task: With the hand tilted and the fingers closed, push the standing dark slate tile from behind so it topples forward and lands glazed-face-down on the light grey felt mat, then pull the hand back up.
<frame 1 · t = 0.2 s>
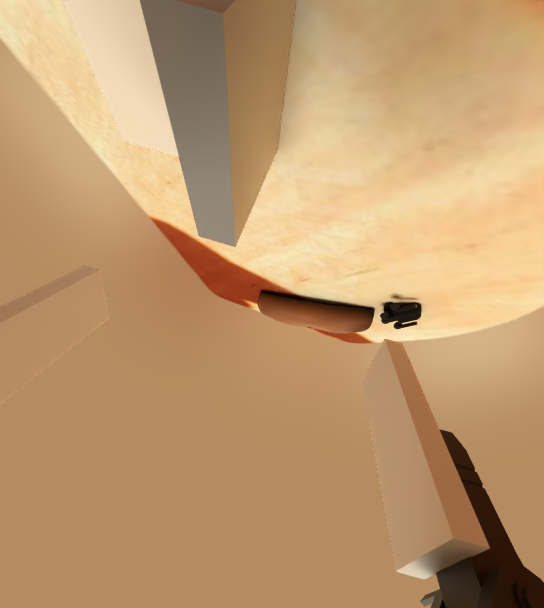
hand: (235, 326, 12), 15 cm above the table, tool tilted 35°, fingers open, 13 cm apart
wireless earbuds: (400, 305, 35), on the table
sunglasses case: (315, 306, 43), on the table
felt mat: (152, 33, 15), on the table
slate tile: (268, 65, 15), on the table
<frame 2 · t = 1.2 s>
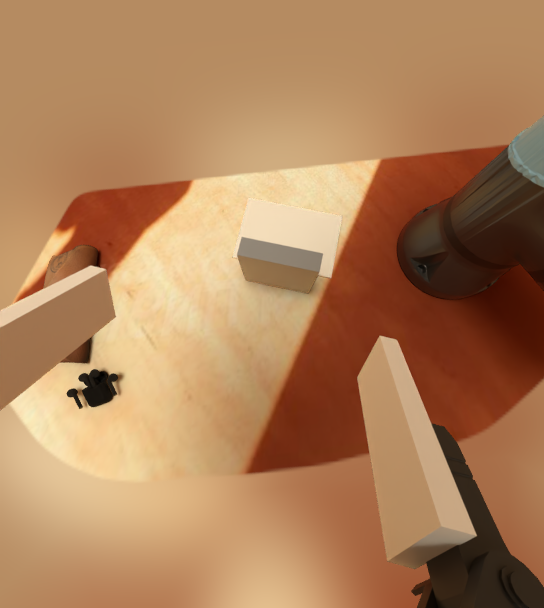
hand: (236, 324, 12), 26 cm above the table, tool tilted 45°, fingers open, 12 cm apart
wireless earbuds: (102, 386, 37), on the table
sunglasses case: (73, 306, 40), on the table
felt mat: (288, 236, 41), on the table
slate tile: (278, 279, 40), on the table
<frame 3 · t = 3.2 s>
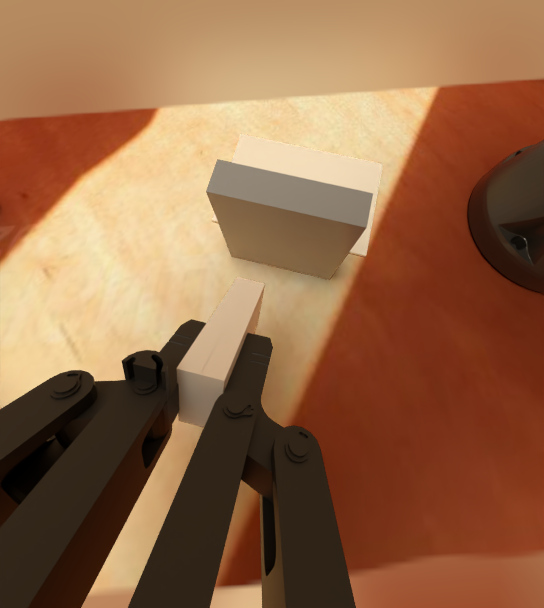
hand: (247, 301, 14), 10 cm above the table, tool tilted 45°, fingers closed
felt mat: (299, 192, 27), on the table
slate tile: (282, 257, 25), on the table
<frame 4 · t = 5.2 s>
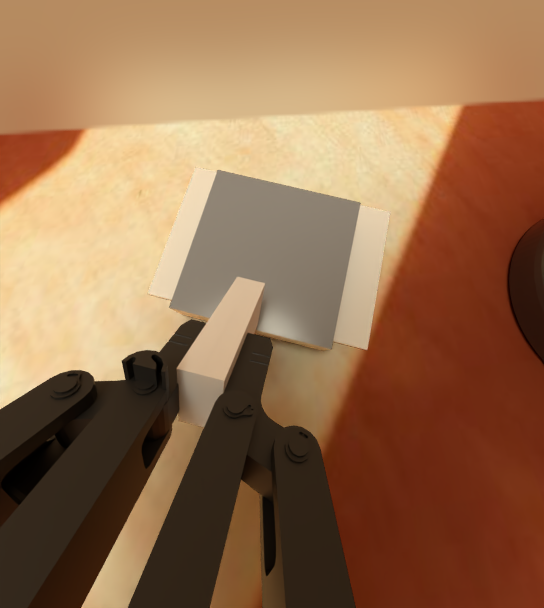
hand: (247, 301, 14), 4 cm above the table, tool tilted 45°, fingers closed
felt mat: (274, 252, 19), on the table
slate tile: (250, 330, 16), point 2 cm above the table, tilted 90°, touching felt mat
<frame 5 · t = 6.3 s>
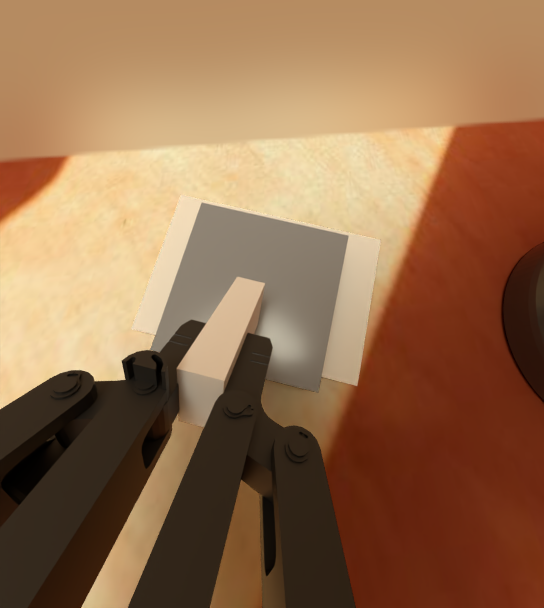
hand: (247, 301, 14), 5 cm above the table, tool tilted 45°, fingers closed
felt mat: (261, 283, 19), on the table
slate tile: (235, 370, 16), point 2 cm above the table, tilted 90°, touching felt mat
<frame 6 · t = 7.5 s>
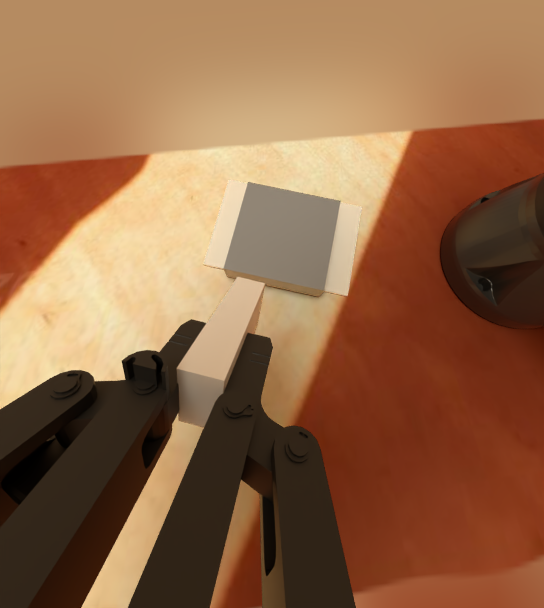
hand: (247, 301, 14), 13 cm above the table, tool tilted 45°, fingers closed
felt mat: (285, 235, 29), on the table
slate tile: (273, 283, 25), point 2 cm above the table, tilted 90°, touching felt mat
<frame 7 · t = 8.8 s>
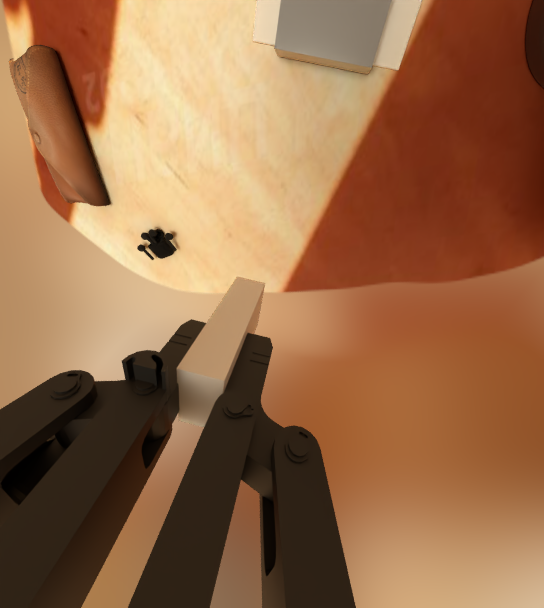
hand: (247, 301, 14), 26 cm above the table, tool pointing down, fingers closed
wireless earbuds: (162, 241, 42), on the table
sunglasses case: (68, 139, 36), on the table
slate tile: (322, 61, 26), point 2 cm above the table, tilted 90°, touching felt mat
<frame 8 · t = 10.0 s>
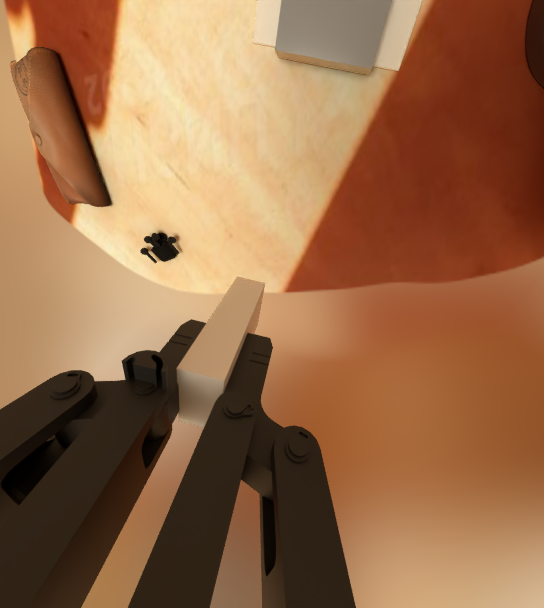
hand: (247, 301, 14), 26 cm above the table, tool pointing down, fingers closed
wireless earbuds: (165, 244, 43), on the table
sunglasses case: (69, 140, 37), on the table
slate tile: (322, 62, 26), point 2 cm above the table, tilted 90°, touching felt mat
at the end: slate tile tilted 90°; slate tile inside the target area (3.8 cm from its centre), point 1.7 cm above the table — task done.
